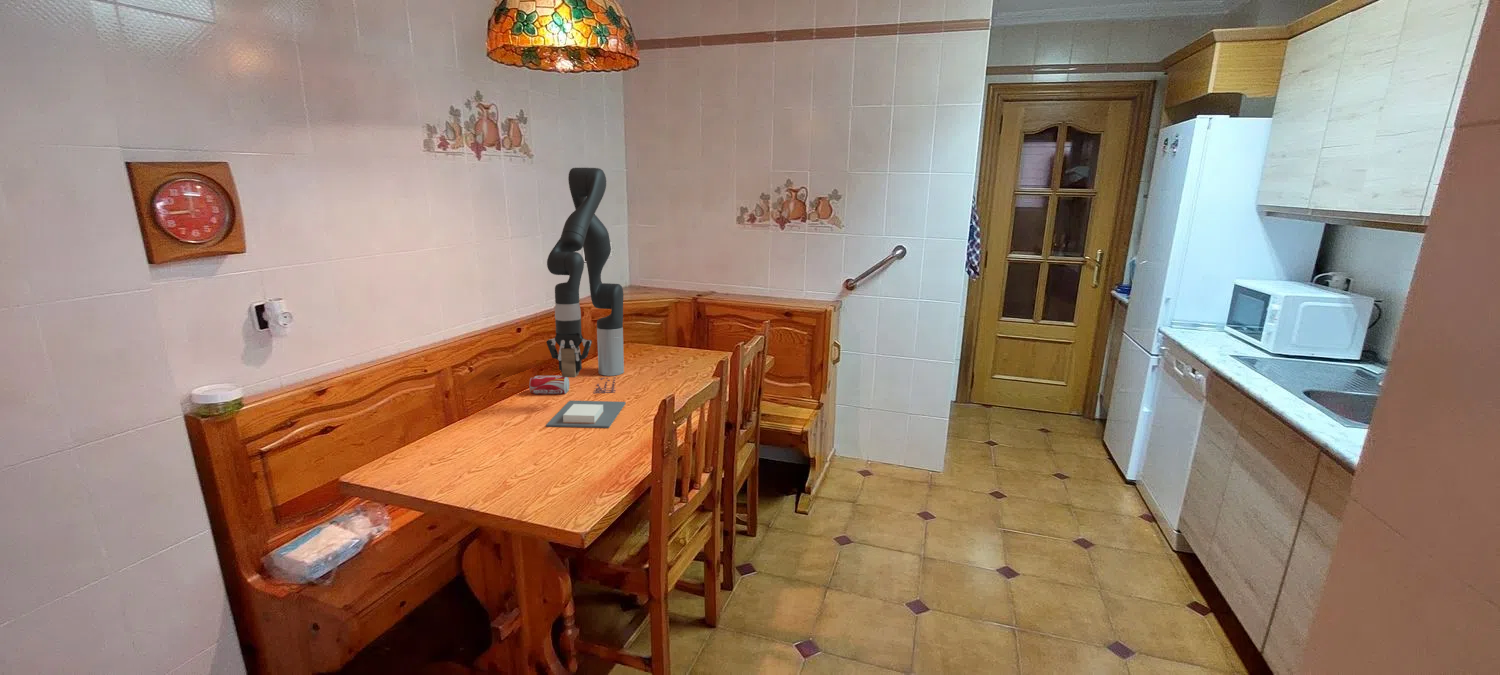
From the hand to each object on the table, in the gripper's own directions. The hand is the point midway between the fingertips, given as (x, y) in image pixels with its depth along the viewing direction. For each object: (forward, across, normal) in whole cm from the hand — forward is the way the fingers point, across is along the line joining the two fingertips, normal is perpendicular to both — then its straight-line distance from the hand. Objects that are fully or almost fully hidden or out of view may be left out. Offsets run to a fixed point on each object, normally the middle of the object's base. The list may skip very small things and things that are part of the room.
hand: (570, 371), depth 188 cm
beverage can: (+8, +5, -13) cm, 16 cm away
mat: (+11, -7, +7) cm, 15 cm away
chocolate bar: (+12, -5, -22) cm, 26 cm away
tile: (+10, -7, +6) cm, 13 cm away
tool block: (+1, 0, 0) cm, 1 cm away
